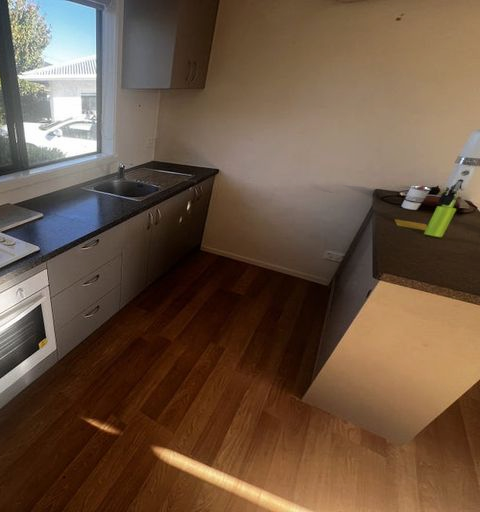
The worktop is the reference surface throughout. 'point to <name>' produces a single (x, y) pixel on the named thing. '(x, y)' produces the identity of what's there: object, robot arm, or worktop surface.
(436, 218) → the soap dispenser
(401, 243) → the worktop surface
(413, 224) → the cloth
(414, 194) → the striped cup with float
